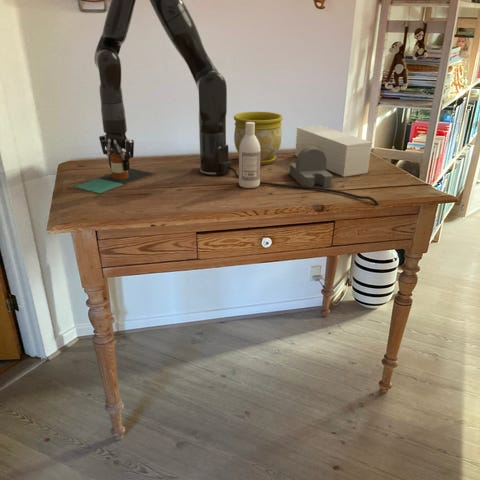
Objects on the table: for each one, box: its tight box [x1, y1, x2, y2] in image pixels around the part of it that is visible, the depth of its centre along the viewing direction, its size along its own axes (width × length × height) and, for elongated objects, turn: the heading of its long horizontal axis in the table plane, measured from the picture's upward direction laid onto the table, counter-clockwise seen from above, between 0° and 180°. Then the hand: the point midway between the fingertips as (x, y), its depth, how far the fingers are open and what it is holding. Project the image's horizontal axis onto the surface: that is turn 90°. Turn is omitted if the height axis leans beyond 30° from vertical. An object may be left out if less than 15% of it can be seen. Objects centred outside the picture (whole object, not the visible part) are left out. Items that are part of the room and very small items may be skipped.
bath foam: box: [238, 122, 261, 189], centre depth 169 cm, size 7×7×20 cm
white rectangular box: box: [294, 124, 373, 178], centre depth 195 cm, size 32×11×11 cm, turn 27°
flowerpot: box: [233, 111, 284, 166], centre depth 197 cm, size 18×18×16 cm
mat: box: [73, 168, 154, 195], centre depth 178 cm, size 12×26×1 cm, turn 147°
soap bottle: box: [110, 148, 129, 180], centre depth 178 cm, size 6×6×10 cm
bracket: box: [289, 147, 334, 188], centre depth 177 cm, size 10×18×11 cm, turn 13°
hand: (119, 168), depth 179 cm, fingers closed on soap bottle, 5 cm apart
